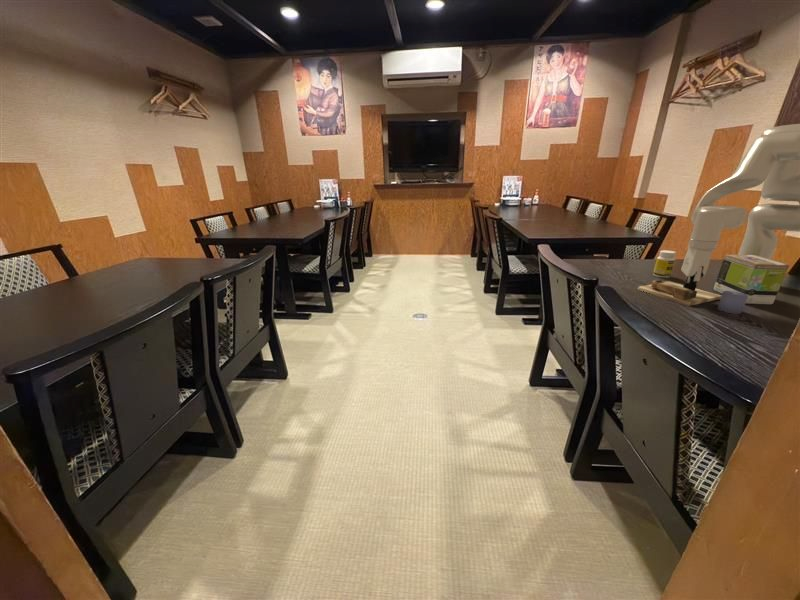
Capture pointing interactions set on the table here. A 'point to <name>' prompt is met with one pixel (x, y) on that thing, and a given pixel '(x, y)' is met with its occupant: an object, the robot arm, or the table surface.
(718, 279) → the tea box
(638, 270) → the table surface
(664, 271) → the supplement bottle
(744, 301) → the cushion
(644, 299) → the table surface
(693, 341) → the table surface
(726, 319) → the table surface
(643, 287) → the board
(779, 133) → the robot arm
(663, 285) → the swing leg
